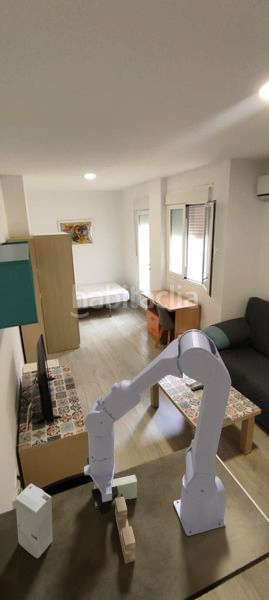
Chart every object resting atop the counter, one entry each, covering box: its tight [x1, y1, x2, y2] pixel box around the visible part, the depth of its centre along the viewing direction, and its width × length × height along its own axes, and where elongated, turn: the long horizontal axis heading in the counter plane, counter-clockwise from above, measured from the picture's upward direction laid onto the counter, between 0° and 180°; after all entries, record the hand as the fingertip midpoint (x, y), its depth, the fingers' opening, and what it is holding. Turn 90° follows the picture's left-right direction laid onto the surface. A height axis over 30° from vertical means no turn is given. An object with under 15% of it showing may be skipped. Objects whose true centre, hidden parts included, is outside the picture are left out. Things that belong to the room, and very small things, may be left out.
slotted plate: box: [93, 474, 138, 507], centre depth 70 cm, size 10×2×5 cm, turn 105°
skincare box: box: [15, 483, 54, 559], centre depth 59 cm, size 6×4×12 cm
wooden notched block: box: [114, 495, 137, 564], centre depth 62 cm, size 2×10×5 cm, turn 15°
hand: (102, 497), depth 70 cm, fingers open, 7 cm apart
